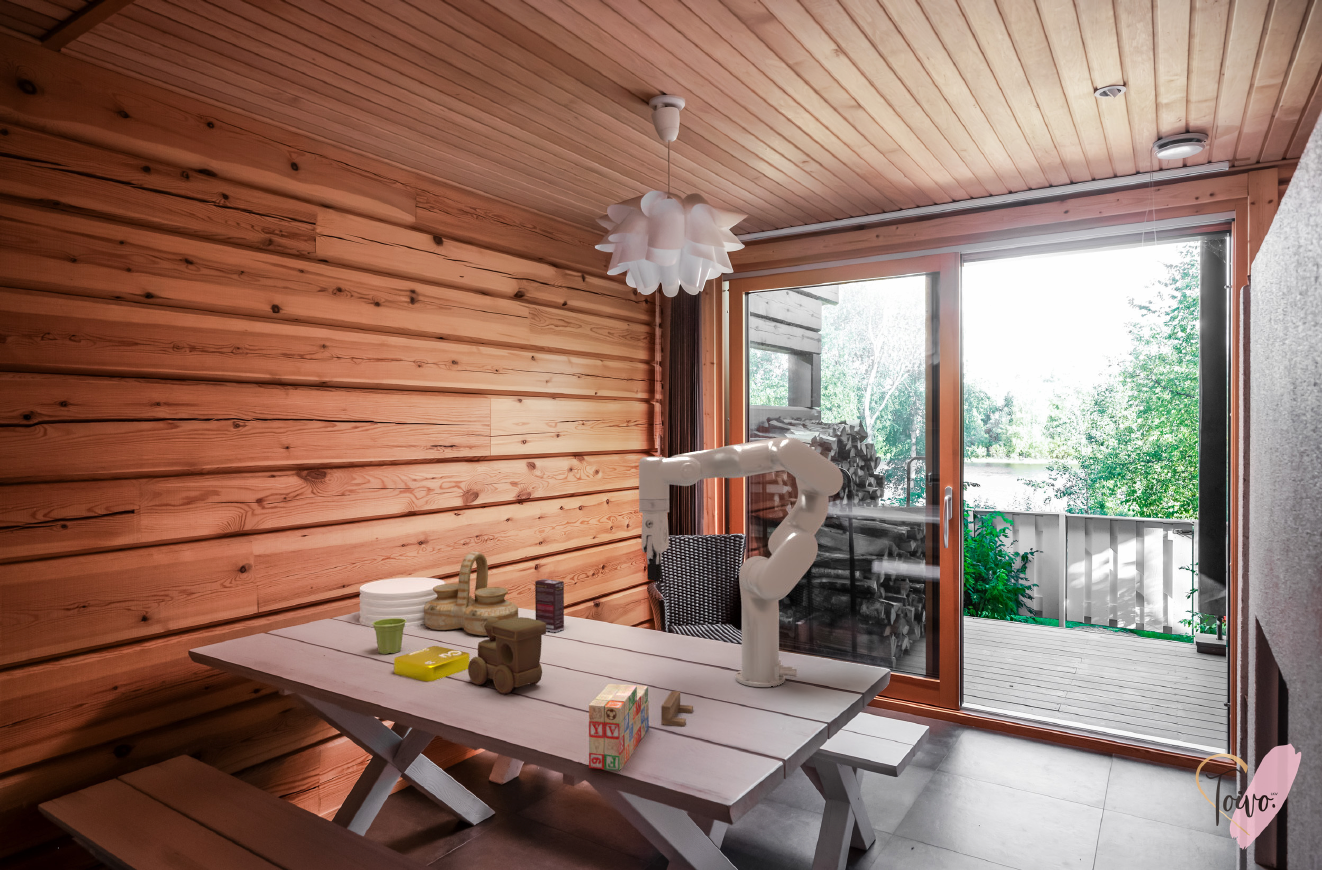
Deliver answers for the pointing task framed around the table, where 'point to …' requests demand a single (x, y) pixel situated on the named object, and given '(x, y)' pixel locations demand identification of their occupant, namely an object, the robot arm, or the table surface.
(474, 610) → the ceramic vessel
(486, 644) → the wooden toy train
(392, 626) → the plant pot
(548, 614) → the supplement box
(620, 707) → the stack of blocks
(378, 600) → the plate stack
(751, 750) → the table surface
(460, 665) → the element tile
